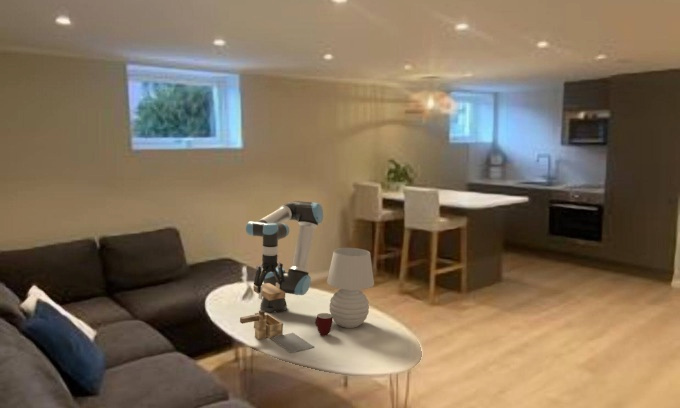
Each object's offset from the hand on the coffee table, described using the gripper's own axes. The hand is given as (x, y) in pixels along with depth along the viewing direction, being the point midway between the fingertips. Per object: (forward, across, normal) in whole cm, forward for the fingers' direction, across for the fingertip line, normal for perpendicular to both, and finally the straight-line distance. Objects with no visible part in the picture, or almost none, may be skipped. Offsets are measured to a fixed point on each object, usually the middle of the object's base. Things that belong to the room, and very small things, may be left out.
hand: (269, 297), depth 261 cm
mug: (+18, -22, +17) cm, 33 cm away
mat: (+18, -3, +19) cm, 26 cm away
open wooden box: (+18, +3, 0) cm, 18 cm away
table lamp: (+18, -42, +13) cm, 47 cm away
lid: (-2, 0, 0) cm, 2 cm away
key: (+8, +12, +6) cm, 16 cm away
